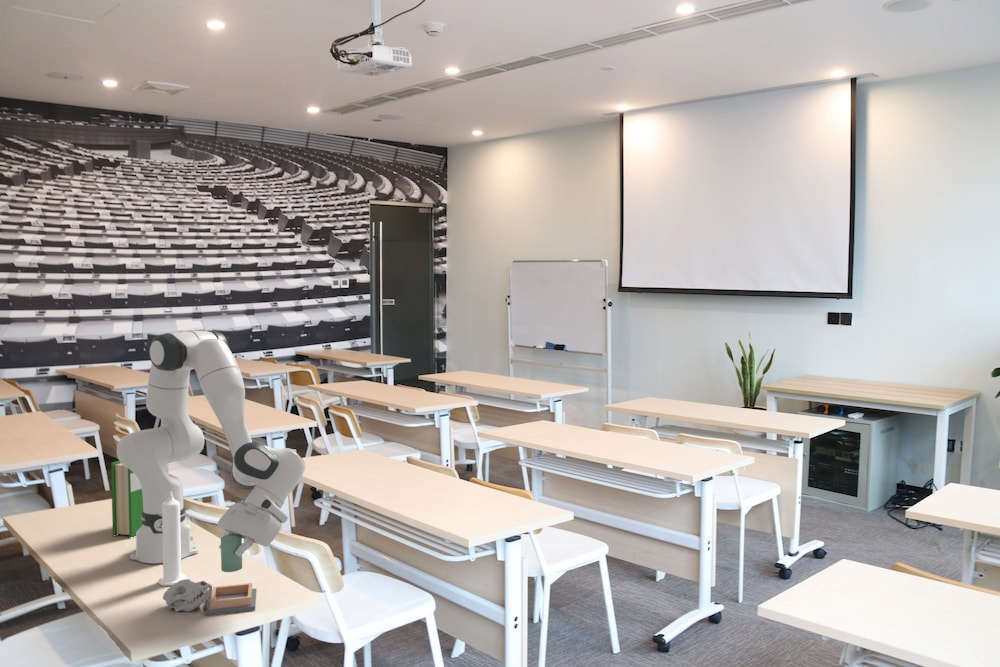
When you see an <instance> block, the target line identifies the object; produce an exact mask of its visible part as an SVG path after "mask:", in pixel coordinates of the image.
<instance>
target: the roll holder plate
mask: <svg viewBox="0 0 1000 667" xmlns="http://www.w3.org/2000/svg"><path fill="white" fill-rule="evenodd" d="M256 603H257V588H253V582H248V583H238V584H229V585H219V586H212V595H211V597H210V598H209V599H208V600H207V603H206V607H205V608H206V609H205V611H204V612H205V616H206V615H207V616H213V614H216V615H221V614H220V613H225V614H230V613H231V612H234V613H240V612H241V611H243V612H249V611H250V610H252V611H256V605H257V604H256ZM241 613H242V612H241Z"/></svg>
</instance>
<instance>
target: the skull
mask: <svg viewBox="0 0 1000 667" xmlns="http://www.w3.org/2000/svg"><path fill="white" fill-rule="evenodd" d="M212 590H213V585H212V584H210V583H208V582H207V581H205V580H201V581H198V582H194V581H192V580H191V579H190V578H188V579H185V580H181V581H179V582H177V583H175V584H174V585H173V586H169V587H168V588H167V589H166V591H165V592H164V593H163V596H162V599H163V601H165V604H166V605H167V607H168V608H169V610H172V609H174V612H177V613H178V612H180V611H184V612H187V613H190V612H192V611H194V610H195V609H197V608H198V607H200V606H201V605H202V604H203V603H205V602H208V599H209V598H210V597H211V595H212ZM189 611H190V612H189Z"/></svg>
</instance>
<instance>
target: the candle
mask: <svg viewBox="0 0 1000 667" xmlns="http://www.w3.org/2000/svg"><path fill="white" fill-rule="evenodd" d="M162 529H163V563H162V566H163V568H162V569H163V570H162V571H163V576H162V577H160V578H159V579H158V584H159V586H162V587H171V586H173V585H174V584H175V583H177V582H179V581H181V580H185V579H187V575H186V574H183V573H182V559H181V529H180V502H179V501H177V500H175V499H174V497H173V494H172V492H171V491H170V493H169V497H168V500H166V501H165V502H164V503H163V504H162Z"/></svg>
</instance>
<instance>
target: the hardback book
mask: <svg viewBox="0 0 1000 667" xmlns="http://www.w3.org/2000/svg"><path fill="white" fill-rule="evenodd" d="M166 471H167V473H168V474H170V472H169V463H166ZM110 478H111V515H112V516H111V518H112V536H113V535H117V534H120V535H127V536H129V537H133V538H135V537H134V536H136V533H137V531H138V529H139V528H141V526H142V525H143V524H142V519H141V515H142V511H143V496H142V488H141V484H140V481H139V479H138V477H137V476H136V475H135V473H134V472H133V471H131V470H130V469H128V468H126V467H125V466H123V465H122V464H121V462H120V461H119V460H117V461H114V462H111V463H110ZM117 536H118V535H117Z"/></svg>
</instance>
